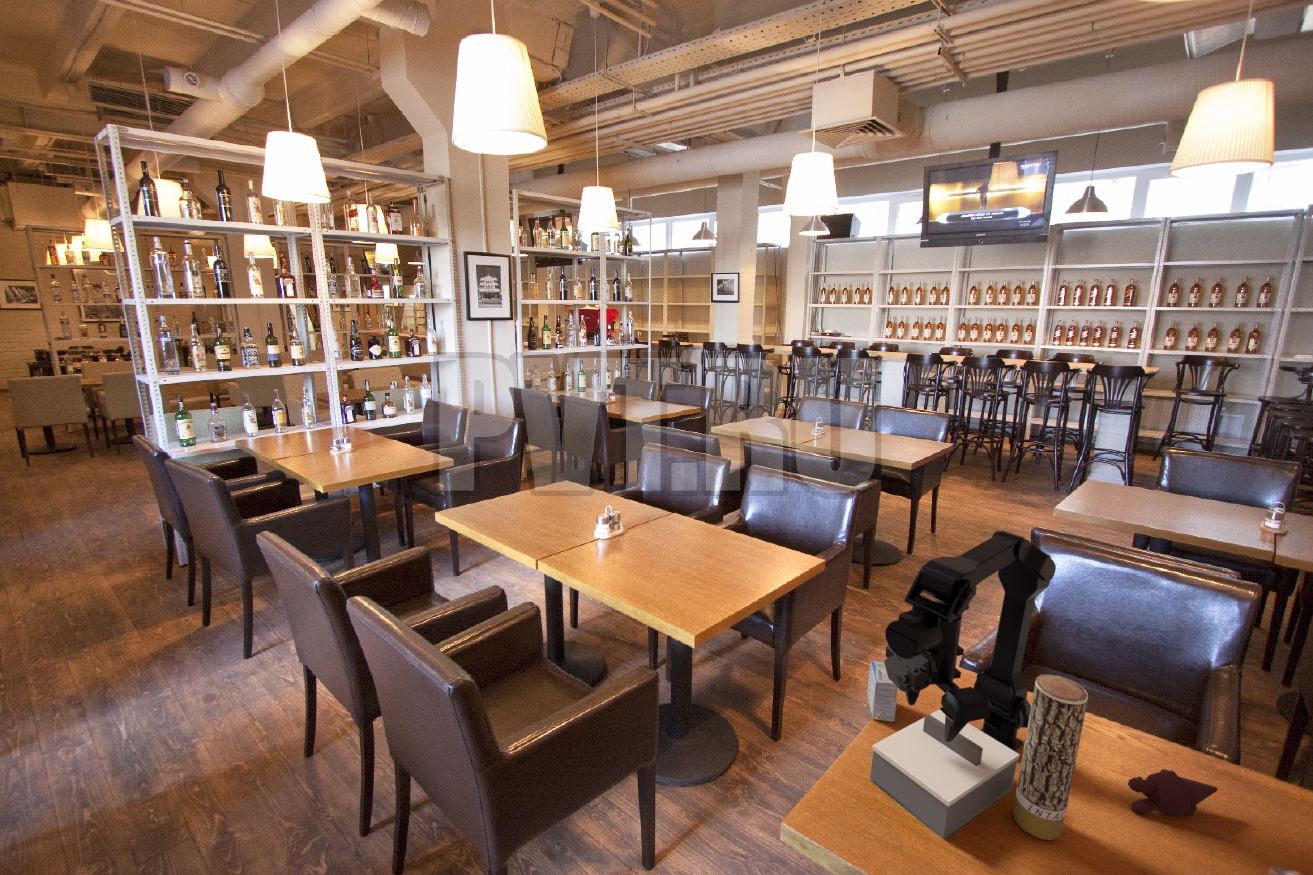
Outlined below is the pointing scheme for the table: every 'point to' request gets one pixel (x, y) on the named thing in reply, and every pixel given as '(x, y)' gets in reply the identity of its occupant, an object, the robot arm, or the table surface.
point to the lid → (945, 757)
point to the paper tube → (1049, 755)
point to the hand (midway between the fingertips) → (929, 721)
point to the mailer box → (932, 808)
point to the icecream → (1169, 793)
